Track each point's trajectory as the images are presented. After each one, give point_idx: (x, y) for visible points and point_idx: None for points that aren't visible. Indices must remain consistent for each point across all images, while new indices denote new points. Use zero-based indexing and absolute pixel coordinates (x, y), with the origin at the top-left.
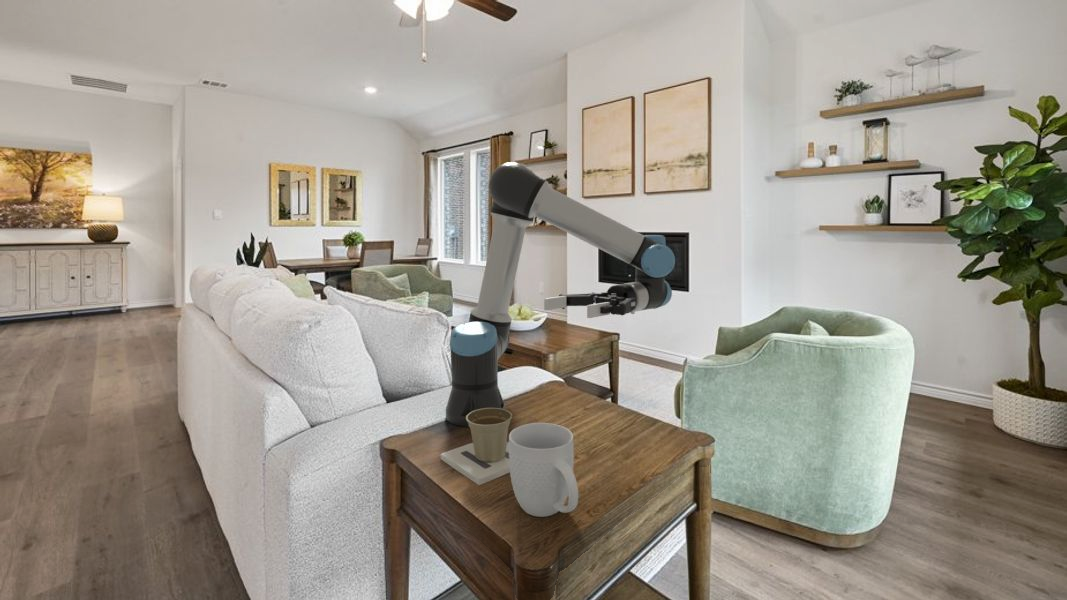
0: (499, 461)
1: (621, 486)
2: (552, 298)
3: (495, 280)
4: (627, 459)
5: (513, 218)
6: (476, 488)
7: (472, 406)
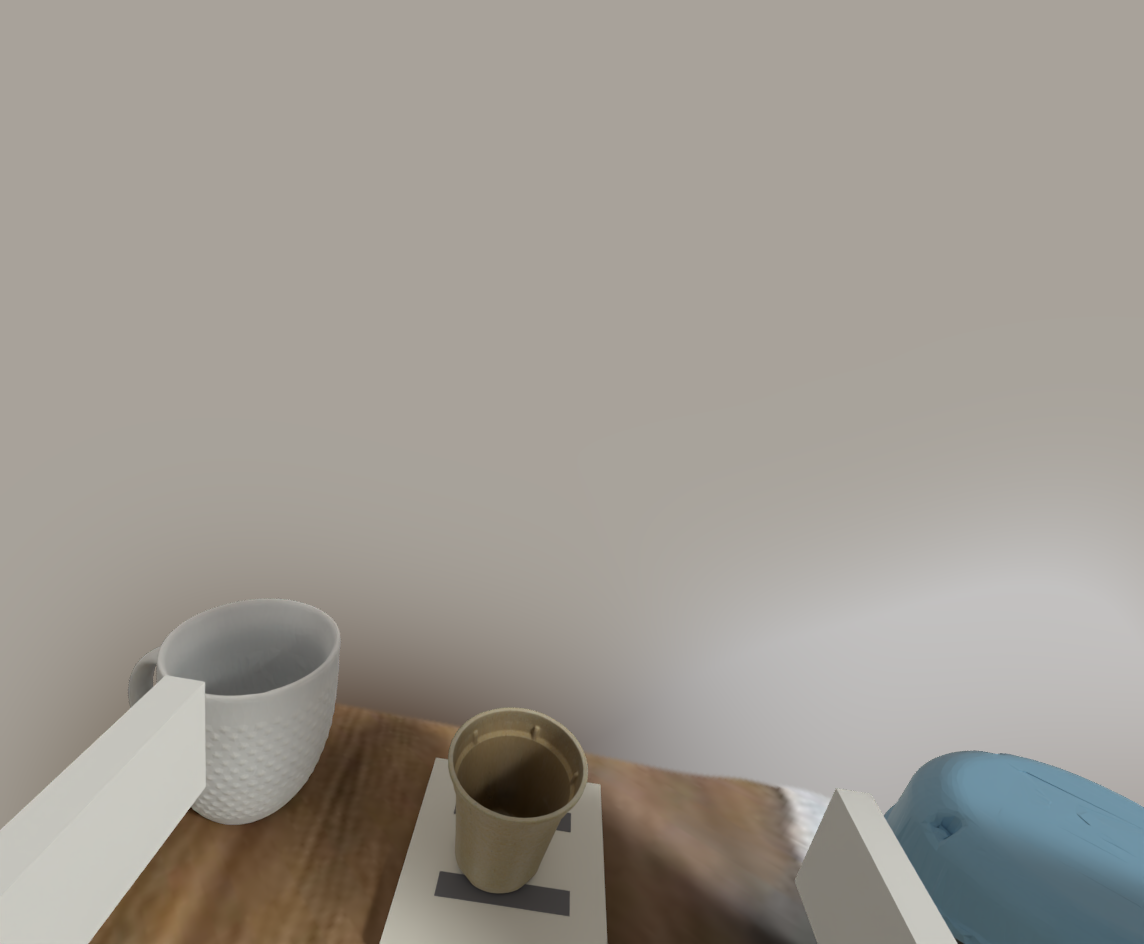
0: (454, 844)
1: None
2: (883, 886)
3: None
4: None
5: None
6: (430, 759)
7: None
